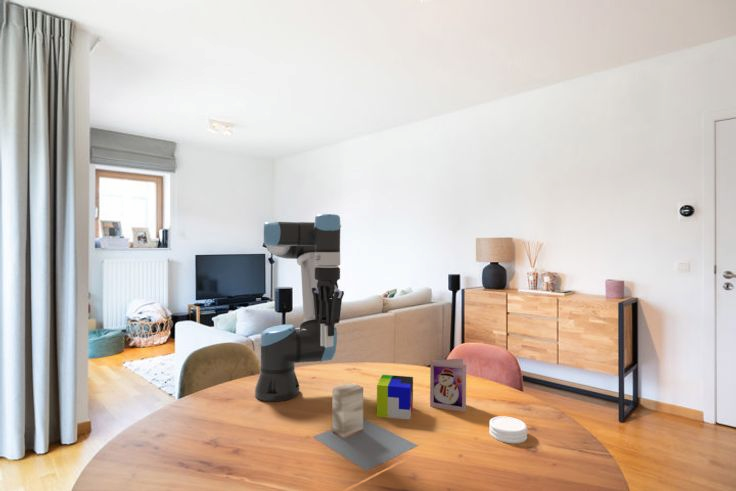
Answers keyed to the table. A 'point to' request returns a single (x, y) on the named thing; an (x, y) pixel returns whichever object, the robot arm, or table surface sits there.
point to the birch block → (347, 410)
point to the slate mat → (367, 445)
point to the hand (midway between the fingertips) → (326, 345)
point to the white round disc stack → (508, 429)
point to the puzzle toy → (395, 396)
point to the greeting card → (448, 384)
